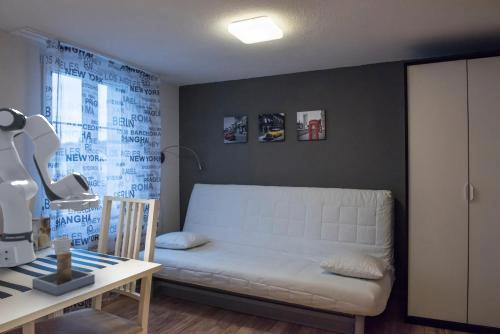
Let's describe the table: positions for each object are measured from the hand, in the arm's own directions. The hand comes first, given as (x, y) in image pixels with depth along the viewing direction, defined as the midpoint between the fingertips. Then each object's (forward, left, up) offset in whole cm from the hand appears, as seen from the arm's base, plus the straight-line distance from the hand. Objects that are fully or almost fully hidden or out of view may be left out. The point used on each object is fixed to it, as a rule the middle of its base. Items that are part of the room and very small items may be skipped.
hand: (70, 207), depth 152 cm
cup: (-10, +29, -28) cm, 42 cm away
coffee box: (-23, +45, -28) cm, 58 cm away
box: (+1, -19, -28) cm, 34 cm away
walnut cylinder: (+1, -19, -27) cm, 33 cm away
